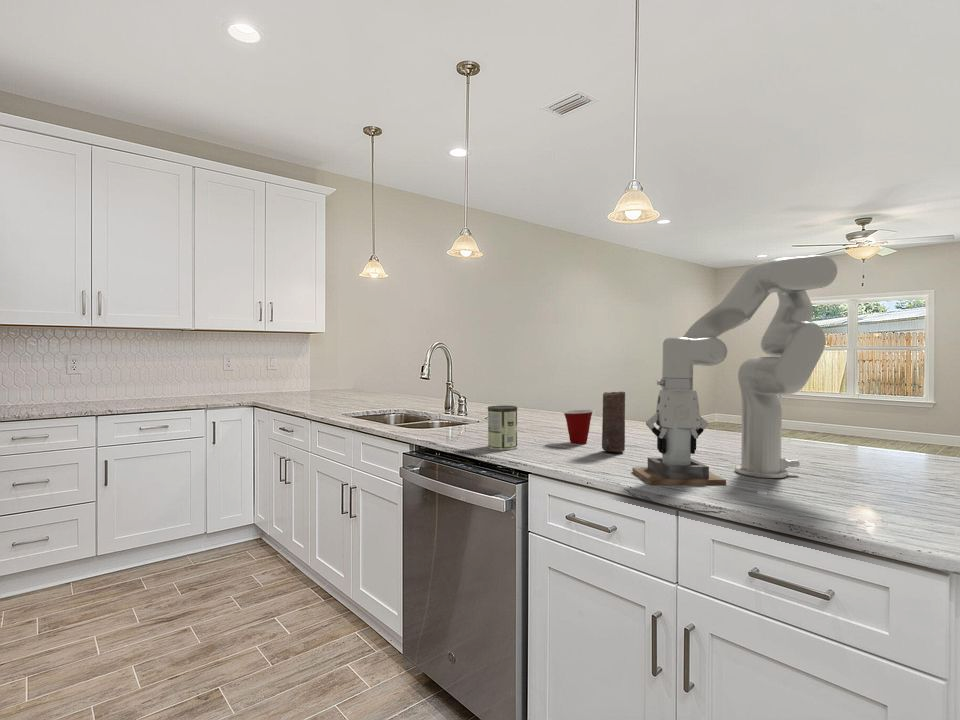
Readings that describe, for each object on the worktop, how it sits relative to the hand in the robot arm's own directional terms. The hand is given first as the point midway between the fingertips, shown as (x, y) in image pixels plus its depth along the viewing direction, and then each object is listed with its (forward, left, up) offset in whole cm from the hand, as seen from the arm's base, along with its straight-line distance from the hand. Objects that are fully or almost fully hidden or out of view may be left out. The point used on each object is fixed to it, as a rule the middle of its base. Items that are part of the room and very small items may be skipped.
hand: (676, 452), depth 135 cm
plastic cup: (+15, -53, -7) cm, 55 cm away
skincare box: (0, 0, -4) cm, 4 cm away
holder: (0, 0, -7) cm, 7 cm away
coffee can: (+43, -44, -7) cm, 62 cm away
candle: (+7, -35, -7) cm, 36 cm away
